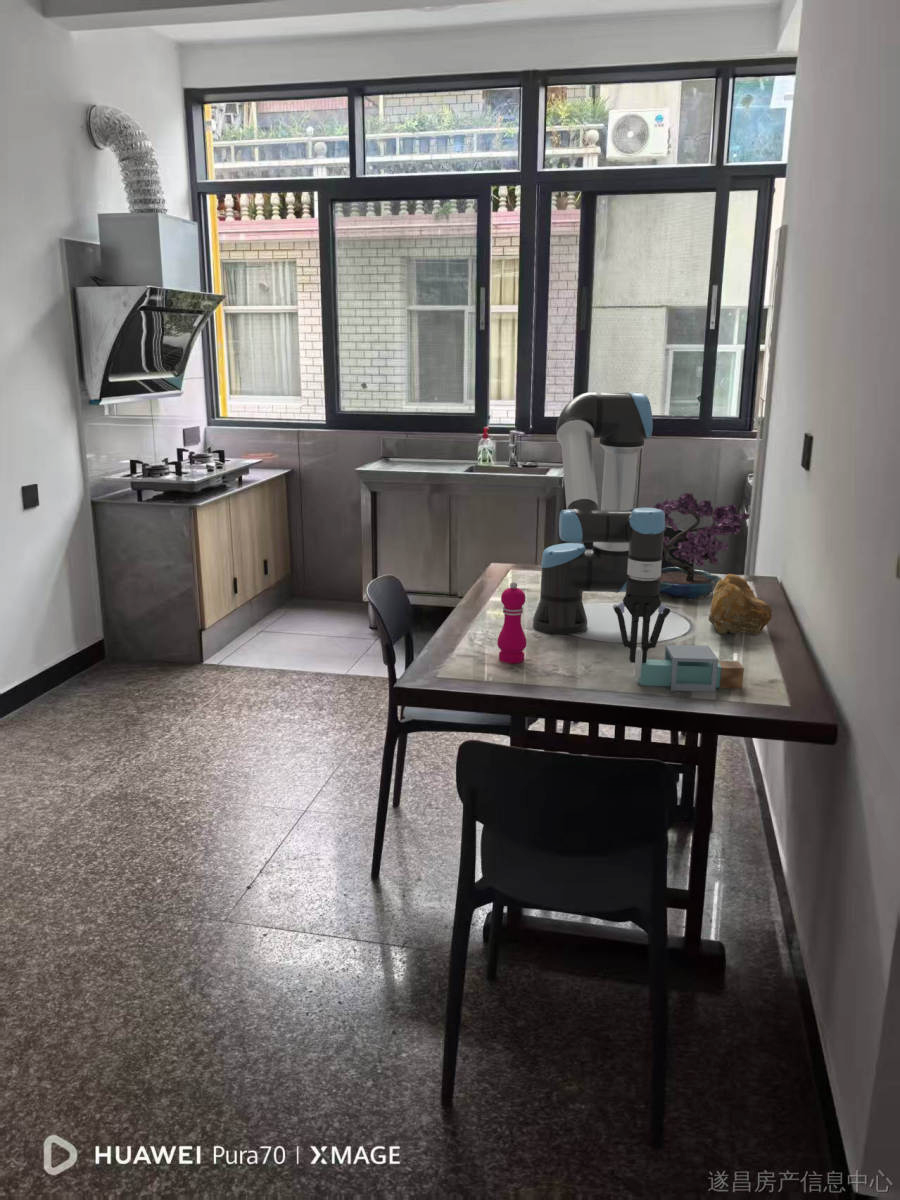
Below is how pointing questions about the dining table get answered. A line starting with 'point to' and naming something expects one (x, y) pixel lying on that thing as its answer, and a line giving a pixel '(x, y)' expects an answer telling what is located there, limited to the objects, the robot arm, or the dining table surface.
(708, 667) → the teal rod
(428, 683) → the dining table surface
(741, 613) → the rough brown rock
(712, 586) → the bonsai tree
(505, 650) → the pepper mill
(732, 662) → the walnut block
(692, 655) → the tunnel
